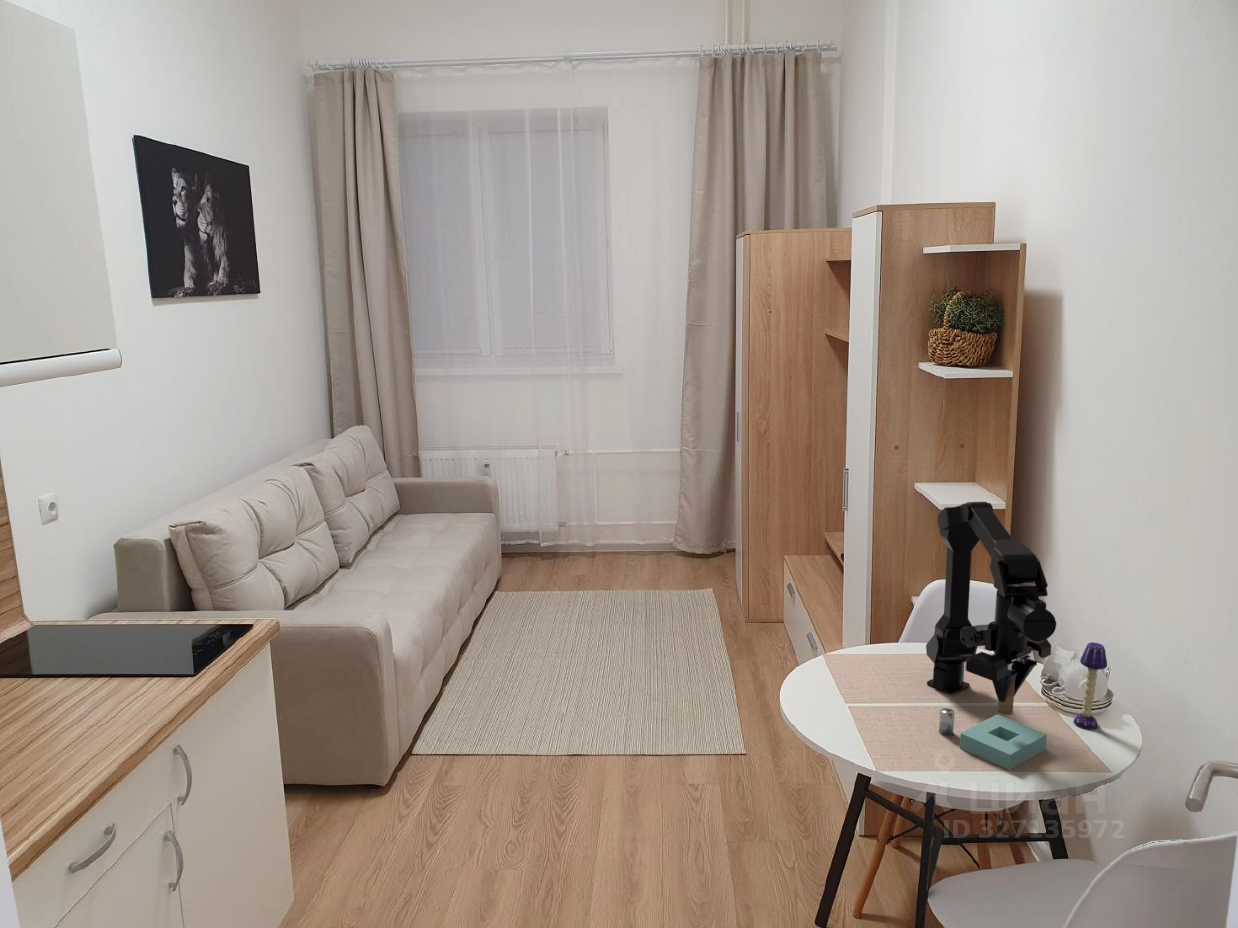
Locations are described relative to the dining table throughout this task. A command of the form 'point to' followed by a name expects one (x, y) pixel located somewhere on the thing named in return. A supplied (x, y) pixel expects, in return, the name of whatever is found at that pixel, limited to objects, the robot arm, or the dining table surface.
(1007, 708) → the walnut dowel
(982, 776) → the dining table surface
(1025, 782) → the dining table surface
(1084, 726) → the toy lamp
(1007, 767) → the collar block
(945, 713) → the grey stub
